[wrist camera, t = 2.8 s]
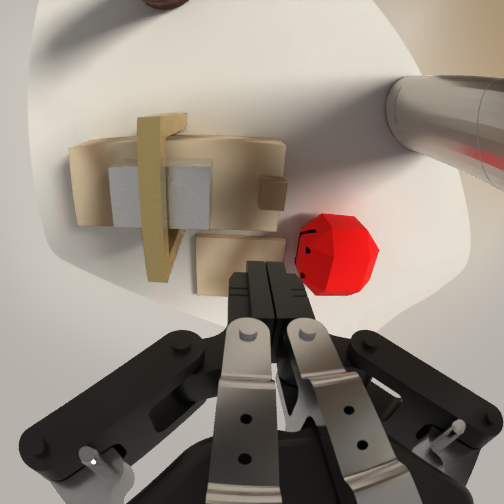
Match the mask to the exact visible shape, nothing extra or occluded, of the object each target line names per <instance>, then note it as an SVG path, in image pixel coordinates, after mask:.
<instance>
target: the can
mask: <svg viewBox="0 0 504 504" xmlns="http://www.w3.org/2000/svg"><path fill="white" fill-rule="evenodd" d="M143 1H144V2H145V3H146V4H147V5H149V6H151V7H153V8H157V9H169V8H174V7H177V6H180V5H182V4H184V3H185V2H187V1H189V0H143Z"/></svg>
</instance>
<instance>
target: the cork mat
mask: <svg viewBox="0 0 504 504" xmlns="http://www.w3.org/2000/svg"><path fill="white" fill-rule="evenodd" d="M285 246H286V239H285V238H279V237H258V236H234V235H209V234H197V235H196V269H197V295H201V296H226V297H228V289H229V278H230V277H231V275H232V274H233V273H234V272H246V262H247V261H264V262H266V261H274V262H283V259H284V253H285Z"/></svg>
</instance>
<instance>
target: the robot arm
mask: <svg viewBox="0 0 504 504" xmlns="http://www.w3.org/2000/svg"><path fill="white" fill-rule="evenodd" d="M386 116H387V121H388V124H389V127H390V130H391V131H392V133H393V135H394V137H395V138H396V139H397V140H398V142H400V143H401V144H402V145H403V146H404V147H406V148H408V149H410V150H413V151H415V152H418V153H421V154H423V155H426V156H428V157H431V158H433V159H436V160H438V161H441V162H443V163H446V164H448V165H450V166H453V167H455V168H457V169H459V170H462V171H464V172H466V173H468V174H470V175H472V176H475V177H477V178H479V179H481V180H483V181H485V182H487V183H489V184H491V185H492V186H495V187H496V188H498V189H500V190H502V191H504V78H494V77H482V76H463V75H462V76H461V75H422V76H407V77H404V78H401V79H400V80H398V81H397V82H396V83H395V84H394V85H393V86H392V88H391V89H390V91H389V94H388V96H387V101H386ZM271 363H277V369H278V371H277V374H276V383H277V387H278V391H279V396H280V400H281V404H282V408H283V412H284V416H285V421H286V429H285V431H280V430H277V407H276V388H275V381H274V380H272V374H271V373H272V372H271ZM372 377H374V378H375V379H377V380H378V381H380V382H381V383H383V384H384V385H386V386H387V387H389V388H390V389H392V390H394V391H395V392H396V393H398V394H399V395H400V396H401V398H396V397H394V396H392V395H391V394H389V393H388V392H386V391H385V390H383V389H382V388H380V387H379V386H377V385H376V384H374V383H373V382H371V379H372ZM216 396H217V404H216V413H215V422H214V432H213V437H210V438H207V439H204V440H202V441H199V442H198V443H196V444H194V445H192V446H191V447H189V448H188V449H186V450H185V451H184V452H183V453H182V454H181V455H180V456H179V457H178V458H177V459H175V460H174V461H173V462H172V463H171V464H170V465H169V467H167V468H166V469H165V470H164V471H163V472H162V473H161V474H160V475H159V476H158V477H157V478H155V479H154V480H153V481H152V482H151V483H150V484H149V485H148V486H147V487H145V488H144V489H143V490H142V491H141V492H140V493H138V494H137V495H136V496H135V497H134V498H133V499H131V500H130V501H129V502H128V503H127V504H474V503H473V498H472V496H471V494H470V492H469V490H468V489H467V488H466V487H465V486H466V484H467V482H468V479H469V477H470V475H471V473H472V470H473V468H474V465H475V463H476V460H477V458H478V455H479V452H480V449H481V448H482V447H483V446H484V445H486V444H487V443H488V442H489V441H491V440H492V439H493V438H494V437H495V436H496V435H498V434H499V433H500V432H501V430H502V427H503V418H502V415H501V412H500V411H499V410H498V408H497V407H495V406H494V405H493V404H491V403H489V402H488V401H486V400H484V399H483V398H481V397H479V396H478V395H476V394H474V393H473V392H472V391H470V390H468V389H467V388H465V387H463V386H462V385H460V384H458V383H457V382H455V381H454V380H452V379H451V378H449V377H447V376H446V375H444V374H442V373H441V372H439V371H438V370H436V369H434V368H433V367H431V366H430V365H428V364H426V363H425V362H423V361H421V360H420V359H418V358H417V357H415V356H413V355H412V354H410V353H409V352H407V351H405V350H404V349H402V348H400V347H399V346H397V345H396V344H394V343H392V342H391V341H389V340H388V339H386V338H384V337H383V336H381V335H380V334H378V333H376V332H374V331H370V330H360V331H357V332H356V333H354V334H353V335H352V337H351V339H348V338H343V337H338V336H334V335H331V334H329V333H328V331H327V329H326V328H325V326H324V325H323V324H321V323H320V322H319V321H316V319H315V316H314V313H313V311H312V308H311V305H310V302H309V299H308V297H307V293H306V291H305V287H304V285H303V282H302V280H301V279H300V278H299V277H298V276H297V275H296V274H287V273H286V270H285V266H284V263H283V262H274V261H266V262H264V261H247V262H246V272H234V273H233V274H232V275H231V277H230V278H229V289H228V325H227V327H226V329H225V330H224V331H223V332H221V333H220V334H218V335H216V336H214V337H210V338H205V339H202V338H201V337H200V336H199V335H197V334H195V333H194V332H191V331H187V330H178V331H173V332H170V333H168V334H167V335H165V336H164V337H162V338H161V339H160V340H158V341H157V342H155V343H154V344H152V345H151V346H150V347H149V348H147V349H145V350H144V351H142V352H141V353H140V354H138V355H137V356H135V357H134V358H132V359H131V360H129V361H128V362H127V363H125V364H124V365H122V366H121V367H119V368H118V369H116V370H115V371H114V372H112V373H111V374H109V375H108V376H106V377H105V378H103V379H102V380H100V381H99V382H97V383H96V384H94V385H93V386H91V387H90V388H88V389H87V390H85V391H84V392H82V393H81V394H79V395H78V396H77V397H75V398H74V399H72V400H71V401H69V402H68V403H66V404H65V405H63V406H62V407H60V408H59V409H57V410H55V411H54V412H52V413H51V414H49V415H48V416H46V417H45V418H43V419H42V420H40V421H39V422H37V423H36V424H34V425H33V426H31V427H30V428H28V429H27V430H25V432H24V433H23V434H22V435H21V438H20V441H19V452H20V455H21V457H22V459H23V461H24V462H25V463H26V464H27V465H28V466H29V467H30V468H32V469H33V470H35V471H36V472H38V473H39V474H41V475H42V476H43V477H44V478H45V479H47V480H49V481H50V482H51V484H52V485H53V486H54V488H55V489H56V491H57V492H58V493H59V495H60V496H61V497H62V499H63V500H64V501H65V502H66V504H123V502H124V497H125V495H126V494H127V492H128V491H129V490H130V489H131V488H132V486H133V484H134V472H133V470H132V468H131V466H132V465H133V464H134V463H135V462H137V461H138V460H139V459H141V458H142V457H143V456H144V455H145V454H147V453H148V452H149V451H150V450H152V449H153V448H154V447H155V446H156V445H158V444H159V443H160V442H161V441H162V440H163V439H164V438H166V437H167V436H168V435H169V434H170V433H172V431H174V430H175V429H176V428H177V427H178V426H179V425H181V424H182V423H183V422H184V421H185V420H186V419H187V418H188V417H190V416H191V415H192V414H193V413H194V412H195V411H196V410H197V409H198V408H199V407H200V406H202V405H203V404H204V402H205V401H206V399H207V398H212V397H216Z"/></svg>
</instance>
